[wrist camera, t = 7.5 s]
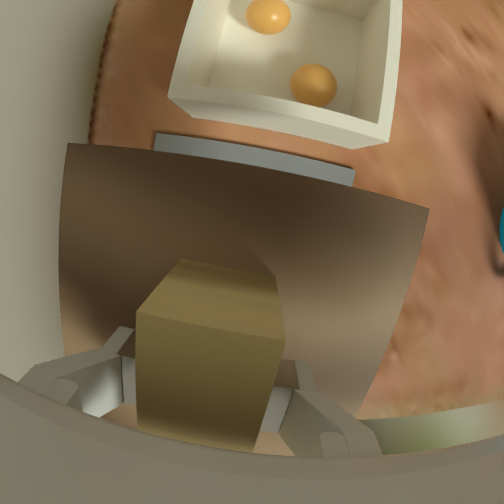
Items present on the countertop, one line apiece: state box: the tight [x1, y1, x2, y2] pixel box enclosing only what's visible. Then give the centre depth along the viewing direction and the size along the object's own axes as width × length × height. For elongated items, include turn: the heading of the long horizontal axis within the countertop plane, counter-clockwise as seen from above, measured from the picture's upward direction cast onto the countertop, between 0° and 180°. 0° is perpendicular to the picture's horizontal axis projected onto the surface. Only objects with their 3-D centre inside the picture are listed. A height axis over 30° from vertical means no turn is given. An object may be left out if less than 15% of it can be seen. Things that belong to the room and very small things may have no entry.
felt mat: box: [153, 133, 355, 187], centre depth 24 cm, size 15×15×1 cm
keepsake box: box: [167, 0, 402, 149], centre depth 17 cm, size 12×12×7 cm
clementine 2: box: [290, 63, 337, 107], centre depth 19 cm, size 3×3×3 cm
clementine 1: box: [246, 0, 291, 35], centre depth 17 cm, size 3×3×3 cm
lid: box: [59, 143, 429, 456], centre depth 9 cm, size 12×12×5 cm
